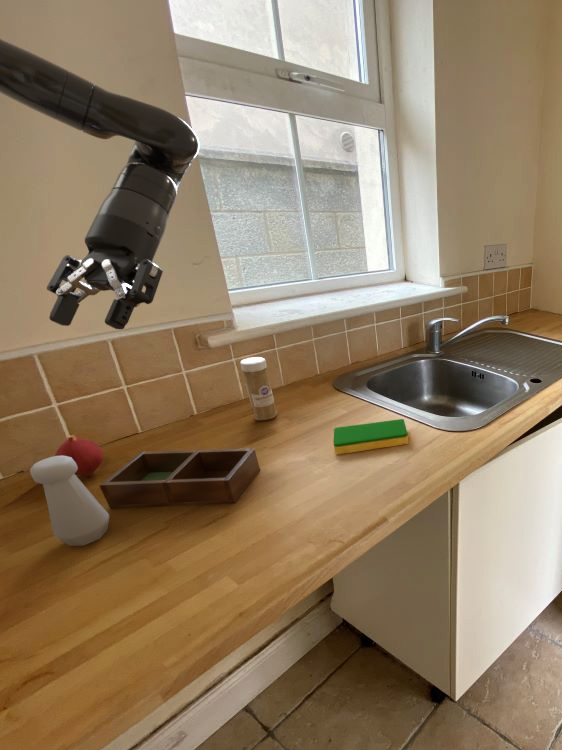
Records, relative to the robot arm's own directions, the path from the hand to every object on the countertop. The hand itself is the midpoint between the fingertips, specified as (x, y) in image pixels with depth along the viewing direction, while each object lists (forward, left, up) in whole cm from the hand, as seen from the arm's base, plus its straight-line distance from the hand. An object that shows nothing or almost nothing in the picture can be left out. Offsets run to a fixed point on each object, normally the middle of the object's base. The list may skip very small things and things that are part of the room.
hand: (86, 325), depth 63 cm
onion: (-13, +5, -29) cm, 32 cm away
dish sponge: (+33, +14, -29) cm, 46 cm away
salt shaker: (-2, -11, -29) cm, 31 cm away
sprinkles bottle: (+8, +26, -29) cm, 40 cm away
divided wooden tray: (+6, 0, -29) cm, 29 cm away
